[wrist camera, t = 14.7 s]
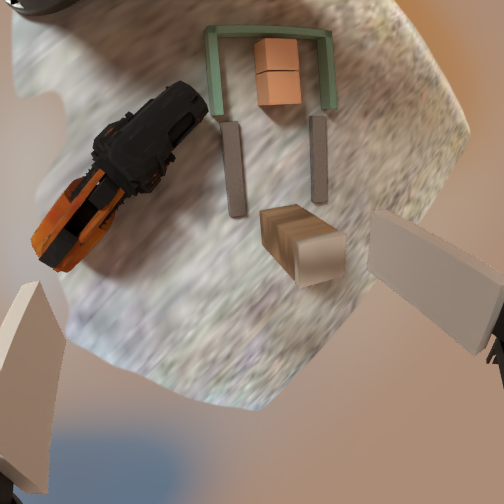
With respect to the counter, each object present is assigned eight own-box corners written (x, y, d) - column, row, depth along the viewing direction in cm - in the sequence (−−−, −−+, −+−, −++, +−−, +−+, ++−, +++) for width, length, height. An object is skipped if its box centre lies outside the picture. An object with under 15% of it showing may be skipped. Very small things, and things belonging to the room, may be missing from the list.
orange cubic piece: (255, 75, 35) (267, 71, 31) (285, 74, 36) (299, 71, 32) (257, 105, 37) (269, 104, 33) (287, 103, 38) (301, 103, 34)
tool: (174, 143, 42) (230, 117, 30) (69, 274, 36) (77, 307, 24) (136, 104, 38) (177, 60, 26) (23, 235, 32) (5, 248, 19)
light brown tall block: (258, 210, 42) (299, 244, 32) (297, 203, 44) (346, 234, 33) (261, 245, 45) (299, 288, 34) (298, 237, 46) (343, 275, 36)
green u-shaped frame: (203, 31, 31) (207, 26, 28) (322, 34, 35) (331, 31, 33) (210, 115, 35) (215, 115, 33) (327, 108, 39) (337, 109, 37)
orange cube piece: (253, 44, 33) (264, 38, 30) (282, 45, 34) (296, 39, 31) (255, 73, 35) (267, 70, 31) (285, 73, 36) (299, 70, 32)
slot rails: (219, 122, 36) (221, 122, 35) (321, 115, 40) (325, 116, 39) (229, 214, 41) (231, 217, 40) (323, 198, 45) (327, 200, 44)
